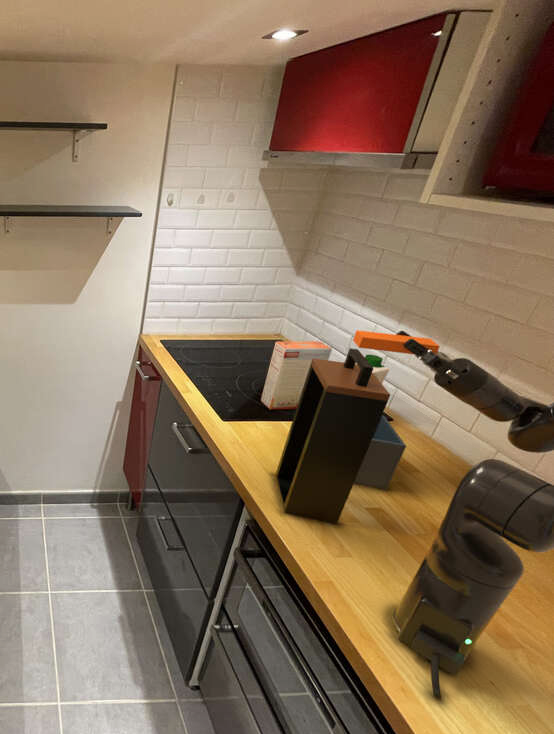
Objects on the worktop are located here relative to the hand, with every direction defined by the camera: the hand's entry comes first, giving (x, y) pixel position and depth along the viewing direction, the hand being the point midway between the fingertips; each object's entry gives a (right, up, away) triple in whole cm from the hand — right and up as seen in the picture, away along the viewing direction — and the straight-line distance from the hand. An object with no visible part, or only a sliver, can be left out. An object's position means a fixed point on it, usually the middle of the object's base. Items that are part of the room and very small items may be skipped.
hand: (402, 338), depth 98 cm
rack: (-19, -37, +4) cm, 42 cm away
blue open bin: (-2, -32, +15) cm, 36 cm away
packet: (-1, -2, +1) cm, 3 cm away
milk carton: (+13, -23, +35) cm, 45 cm away
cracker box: (-1, -20, +42) cm, 47 cm away
